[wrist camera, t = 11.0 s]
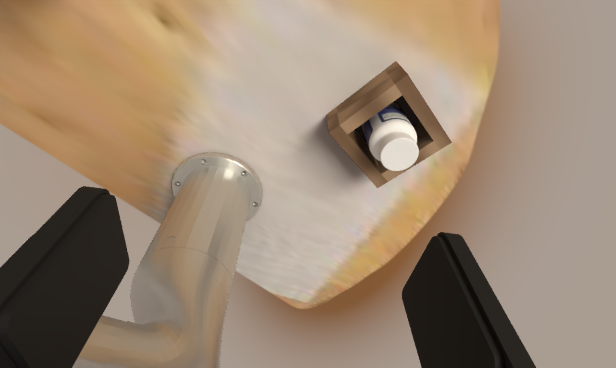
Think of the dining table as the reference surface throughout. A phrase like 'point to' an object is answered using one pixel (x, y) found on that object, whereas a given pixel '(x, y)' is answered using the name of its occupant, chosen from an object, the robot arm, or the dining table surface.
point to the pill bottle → (392, 138)
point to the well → (369, 104)
